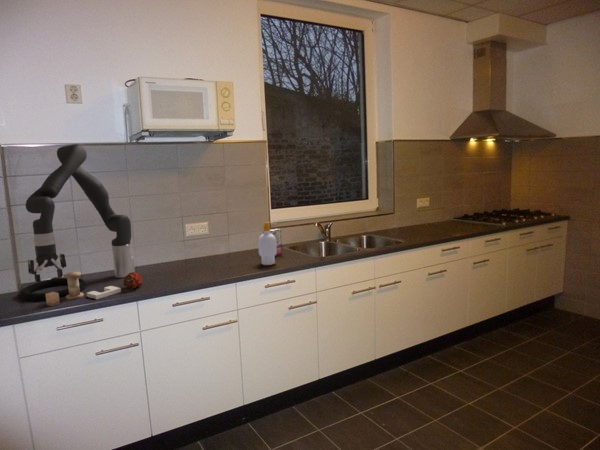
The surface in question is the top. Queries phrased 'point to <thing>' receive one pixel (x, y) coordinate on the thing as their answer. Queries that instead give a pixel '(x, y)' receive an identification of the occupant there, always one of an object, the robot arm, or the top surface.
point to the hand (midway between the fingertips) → (49, 280)
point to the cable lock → (55, 281)
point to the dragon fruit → (133, 280)
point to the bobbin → (73, 285)
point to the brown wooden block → (52, 298)
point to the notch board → (108, 291)
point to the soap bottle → (267, 246)
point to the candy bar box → (277, 240)
